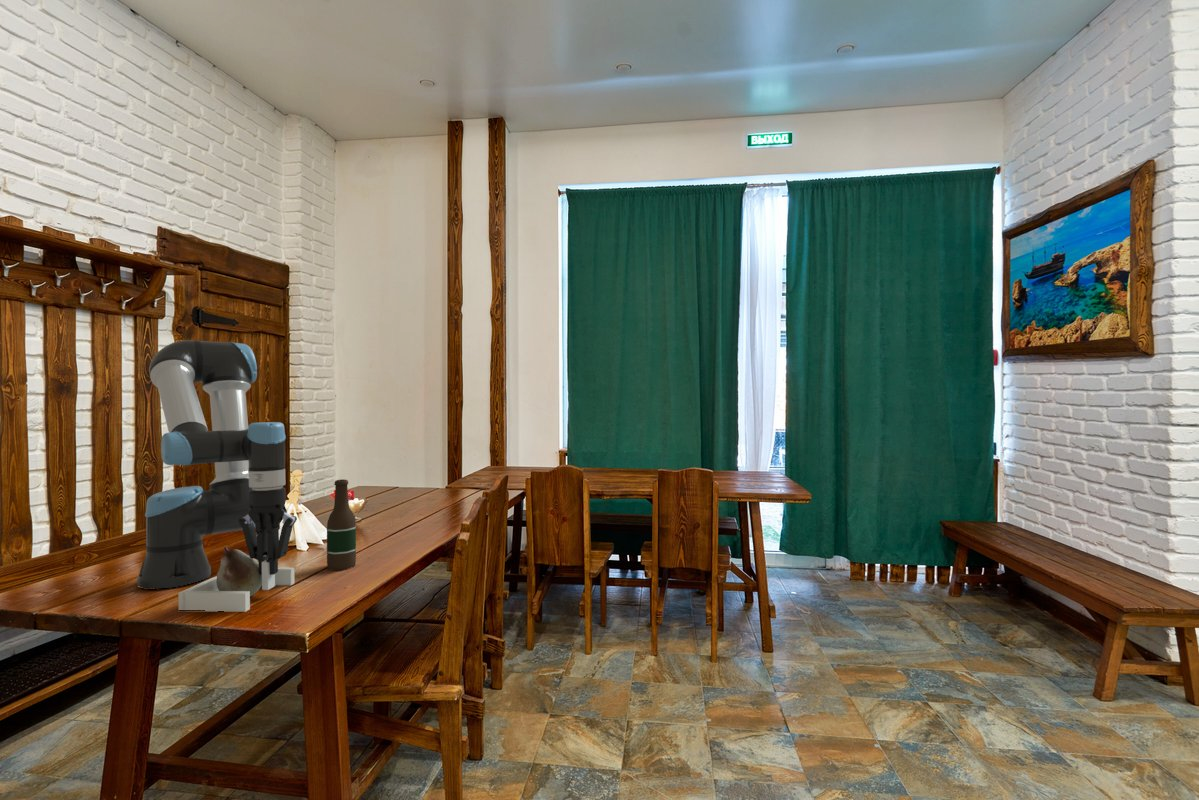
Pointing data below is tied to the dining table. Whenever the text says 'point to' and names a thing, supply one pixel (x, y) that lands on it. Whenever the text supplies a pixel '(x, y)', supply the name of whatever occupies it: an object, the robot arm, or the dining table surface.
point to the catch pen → (225, 595)
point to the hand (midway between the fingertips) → (268, 587)
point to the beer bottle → (341, 531)
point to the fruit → (238, 573)
